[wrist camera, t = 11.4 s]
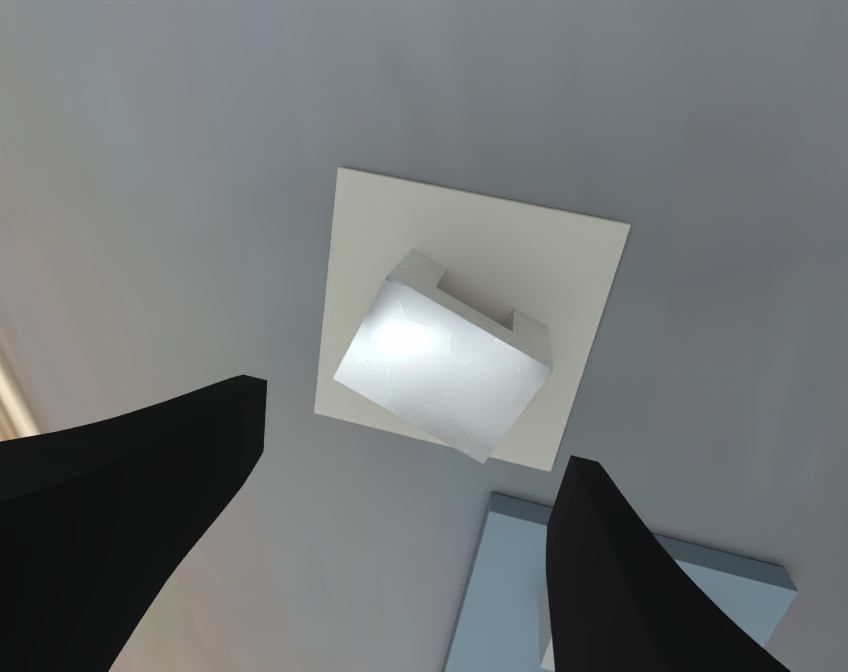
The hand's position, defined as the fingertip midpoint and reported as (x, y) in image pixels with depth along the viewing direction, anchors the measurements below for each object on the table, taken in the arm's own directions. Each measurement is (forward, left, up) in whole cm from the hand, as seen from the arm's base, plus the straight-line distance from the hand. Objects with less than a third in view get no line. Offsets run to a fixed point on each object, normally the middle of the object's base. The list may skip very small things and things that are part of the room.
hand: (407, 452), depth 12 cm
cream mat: (0, 0, -8) cm, 8 cm away
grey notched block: (0, 0, -8) cm, 8 cm away
